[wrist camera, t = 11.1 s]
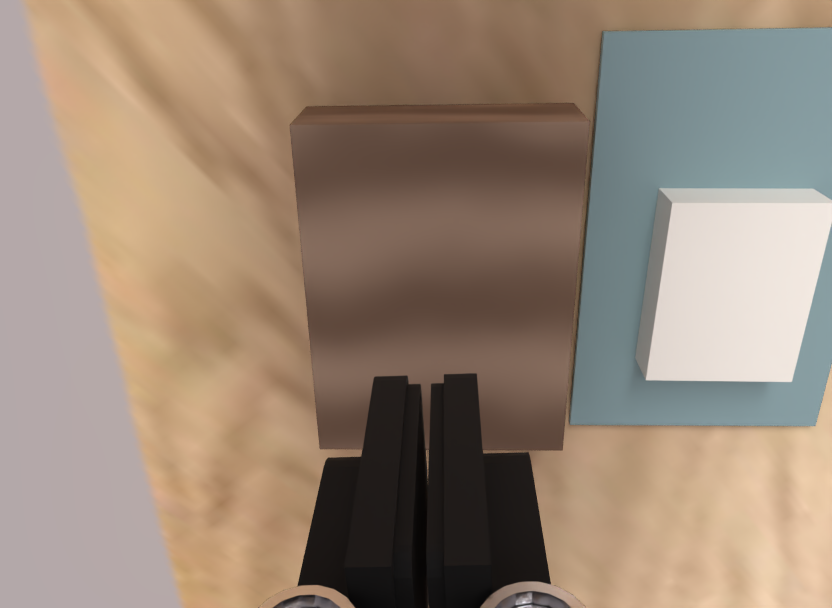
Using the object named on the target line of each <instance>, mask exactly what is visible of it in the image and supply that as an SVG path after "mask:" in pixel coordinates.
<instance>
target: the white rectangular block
mask: <svg viewBox="0 0 832 608" xmlns="http://www.w3.org/2000/svg"><path fill="white" fill-rule="evenodd" d="M831 224H832V200H831V199H829V198H827V197H826V196H824V195H823V194H821V193H820V192H818V191H816V190H815V189H776V188H659V191H658V198H657V205H656V213H655V220H654V227H653V234H652V241H651V248H650V255H649V263H648V270H647V277H646V284H645V291H644V298H643V305H642V313H641V320H640V327H639V334H638V341H637V348H636V356H635V359H636V361H637V363H638V365H639V367H640V369H641V371H642V373H643V375H644V378H645V380H661V381H748V382H792V379H793V375H794V371H795V367H796V363H797V359H798V355H799V352H800V348H801V344H802V340H803V336H804V332H805V328H806V324H807V320H808V316H809V312H810V308H811V304H812V300H813V296H814V292H815V288H816V284H817V280H818V276H819V272H820V268H821V264H822V260H823V256H824V252H825V248H826V244H827V240H828V236H829V232H830V228H831Z"/></svg>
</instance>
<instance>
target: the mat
mask: <svg viewBox="0 0 832 608" xmlns="http://www.w3.org/2000/svg"><path fill="white" fill-rule="evenodd" d="M659 188H776V189H815V190H816V191H818V192H820V193H821V194H823V195H824V196H826V197H827V198H829V199H831V200H832V27H827V28H767V29H707V30H648V31H602V43H601V54H600V66H599V78H598V89H597V101H596V112H595V124H594V136H593V147H592V159H591V171H590V182H589V194H588V206H587V217H586V229H585V240H584V252H583V264H582V275H581V287H580V299H579V310H578V322H577V334H576V345H575V357H574V368H573V380H572V392H571V403H570V415H569V422H570V425H697V426H815V425H816V422H817V418H818V414H819V410H820V406H821V403H822V399H823V395H824V391H825V387H826V383H827V380H828V376H829V372H830V368H831V364H832V224H831V228H830V232H829V236H828V240H827V244H826V248H825V252H824V256H823V260H822V264H821V268H820V272H819V276H818V280H817V284H816V288H815V292H814V296H813V300H812V304H811V308H810V312H809V316H808V320H807V324H806V328H805V332H804V336H803V340H802V344H801V348H800V352H799V355H798V359H797V363H796V367H795V371H794V375H793V379H792V382H748V381H661V380H645V378H644V375H643V373H642V371H641V369H640V367H639V365H638V363H637V361H636V359H635V356H636V348H637V341H638V334H639V327H640V320H641V313H642V305H643V298H644V291H645V284H646V277H647V270H648V263H649V255H650V248H651V241H652V234H653V227H654V220H655V213H656V205H657V198H658V191H659Z"/></svg>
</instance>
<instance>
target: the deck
mask: <svg viewBox="0 0 832 608" xmlns="http://www.w3.org/2000/svg"><path fill="white" fill-rule="evenodd" d="M589 126H590V121H589V120H588V119H587V118H586V117H585V115H584V114H583V113H582V112H581V111H580V110H579V109H578V107H577V106H576V105H575V104H574V103H546V104H468V105H390V106H313V107H306V108H305V109H304V110H303V111H302V112H301V113H300V114H299V115H298V117H297V118H296V119H295V120H294V121H293V122H292V123H291V124H290V133H291V144H292V155H293V166H294V176H295V187H296V198H297V209H298V219H299V230H300V241H301V252H302V262H303V273H304V284H305V295H306V305H307V316H308V327H309V338H310V348H311V359H312V370H313V381H314V392H315V402H316V413H317V424H318V435H319V445H320V449H363V443H364V437H365V430H366V424H367V418H368V411H369V405H370V398H371V392H372V385H373V379H374V377H375V376H404V375H407V376H408V381H409V384H421V391H422V405H423V419H424V434H425V448H426V450H429V436H430V400H431V383H444V374H464V373H477V381H478V394H479V408H480V421H481V435H482V448H483V450H563V439H564V427H565V415H566V403H567V391H568V379H569V367H570V355H571V343H572V331H573V318H574V306H575V294H576V282H577V270H578V258H579V246H580V234H581V222H582V210H583V198H584V186H585V174H586V162H587V150H588V138H589Z"/></svg>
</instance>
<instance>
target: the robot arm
mask: <svg viewBox="0 0 832 608" xmlns="http://www.w3.org/2000/svg"><path fill="white" fill-rule="evenodd" d="M258 608H586V606H585V605H583V604H582V603H581V602H580V601H579V600H578V599H577V598H576V597H575V596H574V595H573V594H571V593H569V592H567V591H565V590H563V589H561V588H559V587H557V586H555V585H551V582H550V576H549V570H548V564H547V558H546V552H545V545H544V539H543V533H542V527H541V521H540V515H539V509H538V503H537V496H536V490H535V484H534V478H533V472H532V466H531V460H530V455H529V453H528V452H525V453H488V454H483V448H482V435H481V421H480V408H479V394H478V381H477V373H464V374H444V383H431V400H430V436H429V472H428V477H427V463H426V448H425V434H424V419H423V405H422V391H421V384H409V381H408V376H407V375H404V376H375V377H374V379H373V385H372V392H371V398H370V405H369V411H368V418H367V424H366V430H365V437H364V443H363V450H362V456H361V457H338V458H328V459H327V460H326V462H325V465H324V469H323V473H322V478H321V482H320V487H319V491H318V496H317V500H316V505H315V510H314V514H313V519H312V523H311V528H310V532H309V537H308V541H307V546H306V550H305V555H304V559H303V564H302V568H301V573H300V577H299V582H298V586H297V587H294V588H290V589H287V590H283V591H282V592H280V593H278V594H276V595H274V596H272V597H271V598H269V599H267V600H266V601H265V602H264V603H263V604H262V605H261V606H260V607H258Z"/></svg>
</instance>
